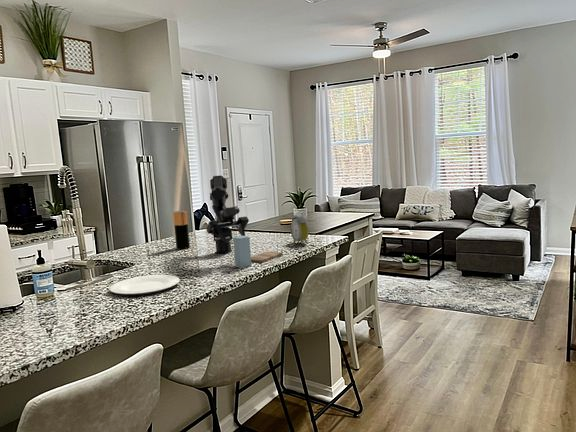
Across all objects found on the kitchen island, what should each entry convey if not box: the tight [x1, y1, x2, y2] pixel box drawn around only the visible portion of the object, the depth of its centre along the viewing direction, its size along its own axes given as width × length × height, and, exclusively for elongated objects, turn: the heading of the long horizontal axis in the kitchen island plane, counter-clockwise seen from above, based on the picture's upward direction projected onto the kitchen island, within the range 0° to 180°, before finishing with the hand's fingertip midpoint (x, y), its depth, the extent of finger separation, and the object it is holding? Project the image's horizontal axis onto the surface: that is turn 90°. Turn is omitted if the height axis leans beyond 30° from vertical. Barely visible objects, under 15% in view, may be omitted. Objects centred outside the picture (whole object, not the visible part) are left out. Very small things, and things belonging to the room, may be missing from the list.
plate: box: [108, 274, 181, 296], centre depth 168 cm, size 25×25×2 cm
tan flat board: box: [251, 251, 283, 264], centre depth 206 cm, size 16×9×1 cm, turn 147°
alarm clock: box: [290, 213, 310, 246], centre depth 237 cm, size 12×7×15 cm, turn 25°
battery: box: [172, 210, 191, 250], centre depth 241 cm, size 7×7×20 cm
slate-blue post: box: [232, 235, 252, 269], centre depth 193 cm, size 5×5×12 cm
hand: (235, 239), depth 196 cm, fingers open, 9 cm apart
